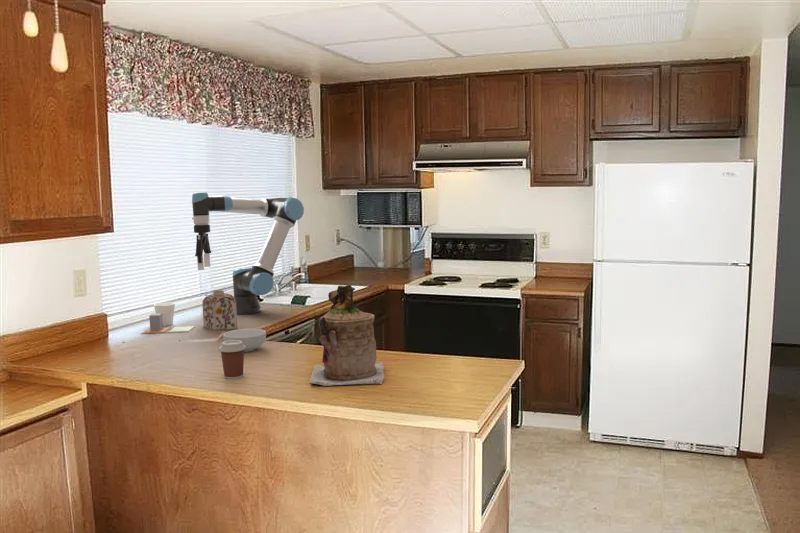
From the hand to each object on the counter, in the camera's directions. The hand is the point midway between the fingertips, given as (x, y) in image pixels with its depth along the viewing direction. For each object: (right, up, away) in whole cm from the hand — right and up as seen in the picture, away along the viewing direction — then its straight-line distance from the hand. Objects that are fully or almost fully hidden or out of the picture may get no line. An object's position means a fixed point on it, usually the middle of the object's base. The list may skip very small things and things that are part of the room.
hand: (204, 268), depth 339 cm
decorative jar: (+11, -28, -13) cm, 33 cm away
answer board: (-10, -29, -19) cm, 37 cm away
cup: (-17, -28, -5) cm, 33 cm away
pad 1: (-16, -28, -20) cm, 38 cm away
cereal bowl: (+33, -33, -57) cm, 74 cm away
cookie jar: (+77, -37, -101) cm, 132 cm away
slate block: (-16, -28, -20) cm, 38 cm away
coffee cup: (+38, -37, -98) cm, 111 cm away
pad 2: (-5, -28, -19) cm, 34 cm away
